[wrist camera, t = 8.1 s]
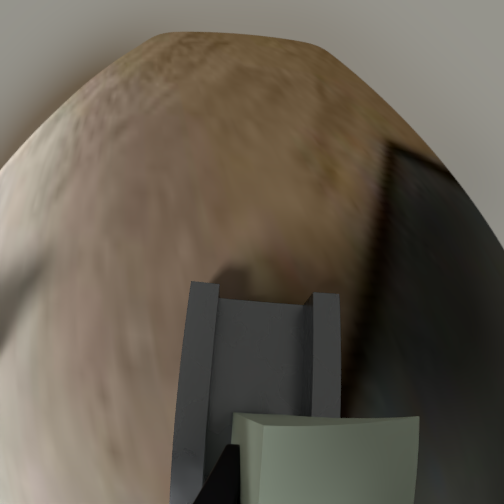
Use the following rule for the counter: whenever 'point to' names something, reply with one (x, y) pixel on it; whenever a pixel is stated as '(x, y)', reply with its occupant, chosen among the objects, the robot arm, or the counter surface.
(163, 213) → the counter surface
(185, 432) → the track
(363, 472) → the door panel
